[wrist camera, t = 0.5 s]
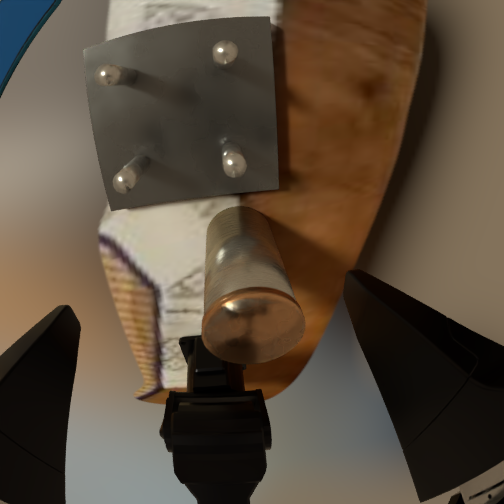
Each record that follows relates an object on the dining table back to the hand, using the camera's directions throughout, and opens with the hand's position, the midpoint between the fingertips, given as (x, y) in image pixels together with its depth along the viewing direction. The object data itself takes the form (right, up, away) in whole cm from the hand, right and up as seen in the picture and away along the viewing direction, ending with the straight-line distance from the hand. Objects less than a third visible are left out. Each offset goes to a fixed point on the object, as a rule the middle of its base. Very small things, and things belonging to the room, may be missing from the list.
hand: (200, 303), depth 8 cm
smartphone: (-20, +18, +2) cm, 26 cm away
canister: (+1, +3, +14) cm, 14 cm away
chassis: (-3, +11, +8) cm, 14 cm away
